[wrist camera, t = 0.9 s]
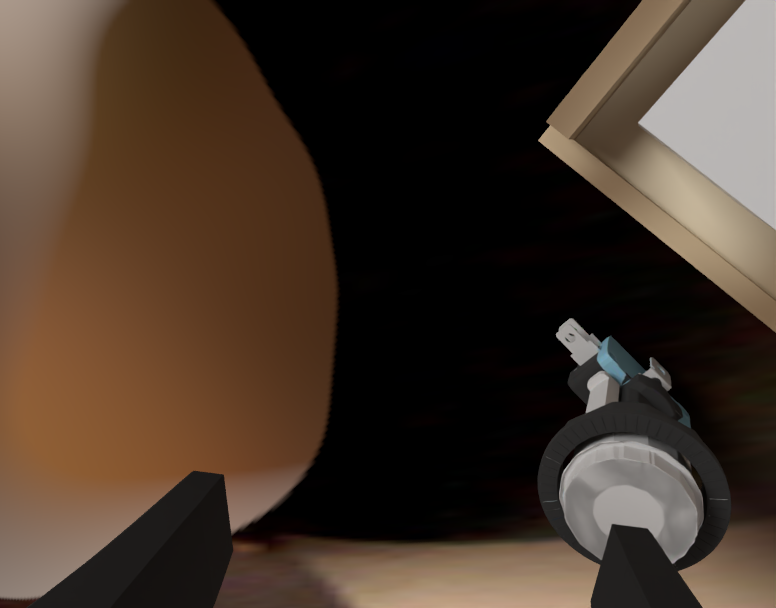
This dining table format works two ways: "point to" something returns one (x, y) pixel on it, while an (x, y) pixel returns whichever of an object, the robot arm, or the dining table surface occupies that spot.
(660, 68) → the beige tray
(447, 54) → the dining table surface
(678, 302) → the dining table surface
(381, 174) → the dining table surface
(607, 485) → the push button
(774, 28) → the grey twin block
